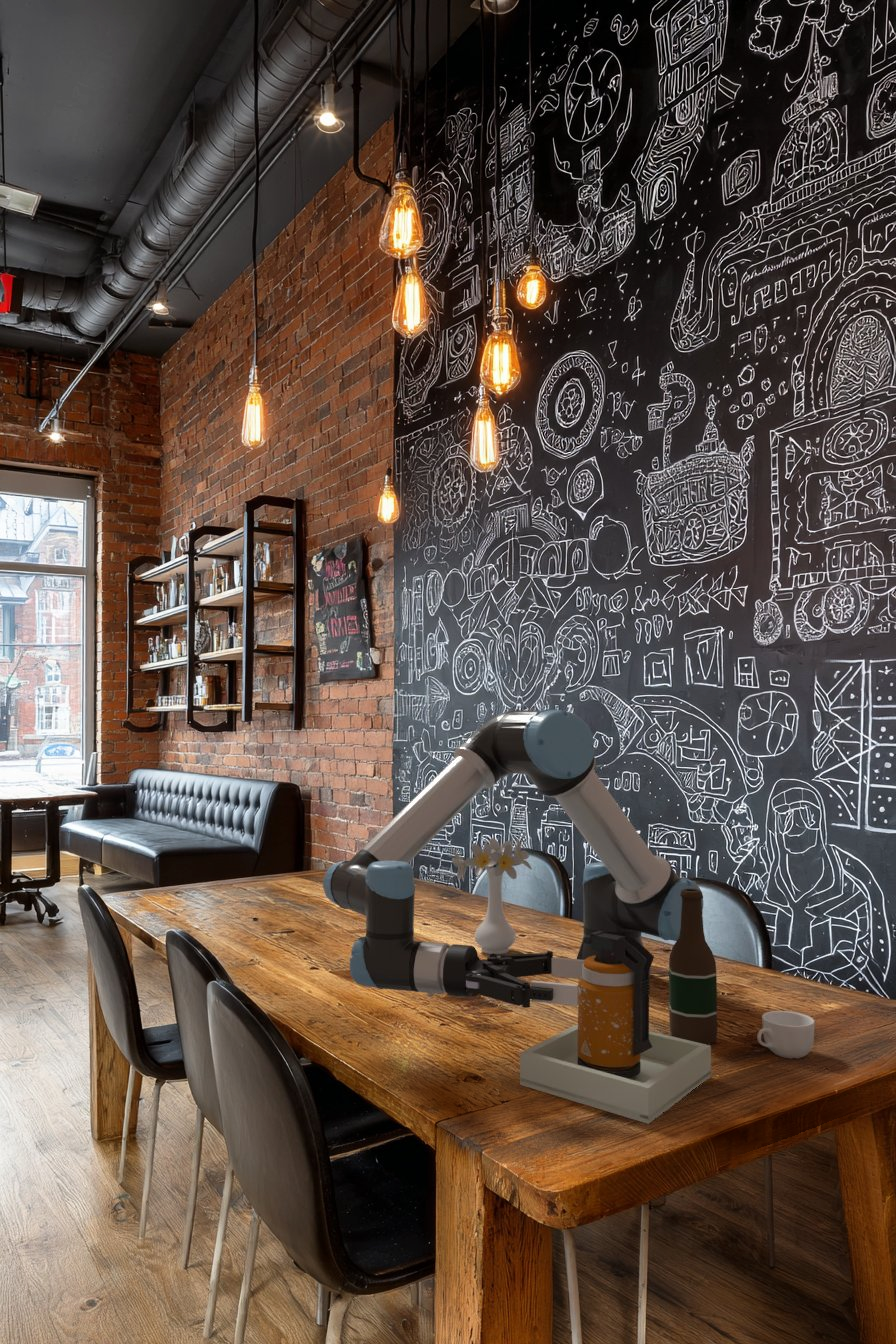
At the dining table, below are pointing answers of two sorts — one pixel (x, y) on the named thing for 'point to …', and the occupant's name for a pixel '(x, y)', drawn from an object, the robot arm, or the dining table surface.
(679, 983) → the beer bottle
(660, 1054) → the tray
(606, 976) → the canister
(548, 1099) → the dining table surface
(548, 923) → the dining table surface
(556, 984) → the robot arm
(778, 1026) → the teacup
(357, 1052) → the dining table surface
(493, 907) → the flower vase
